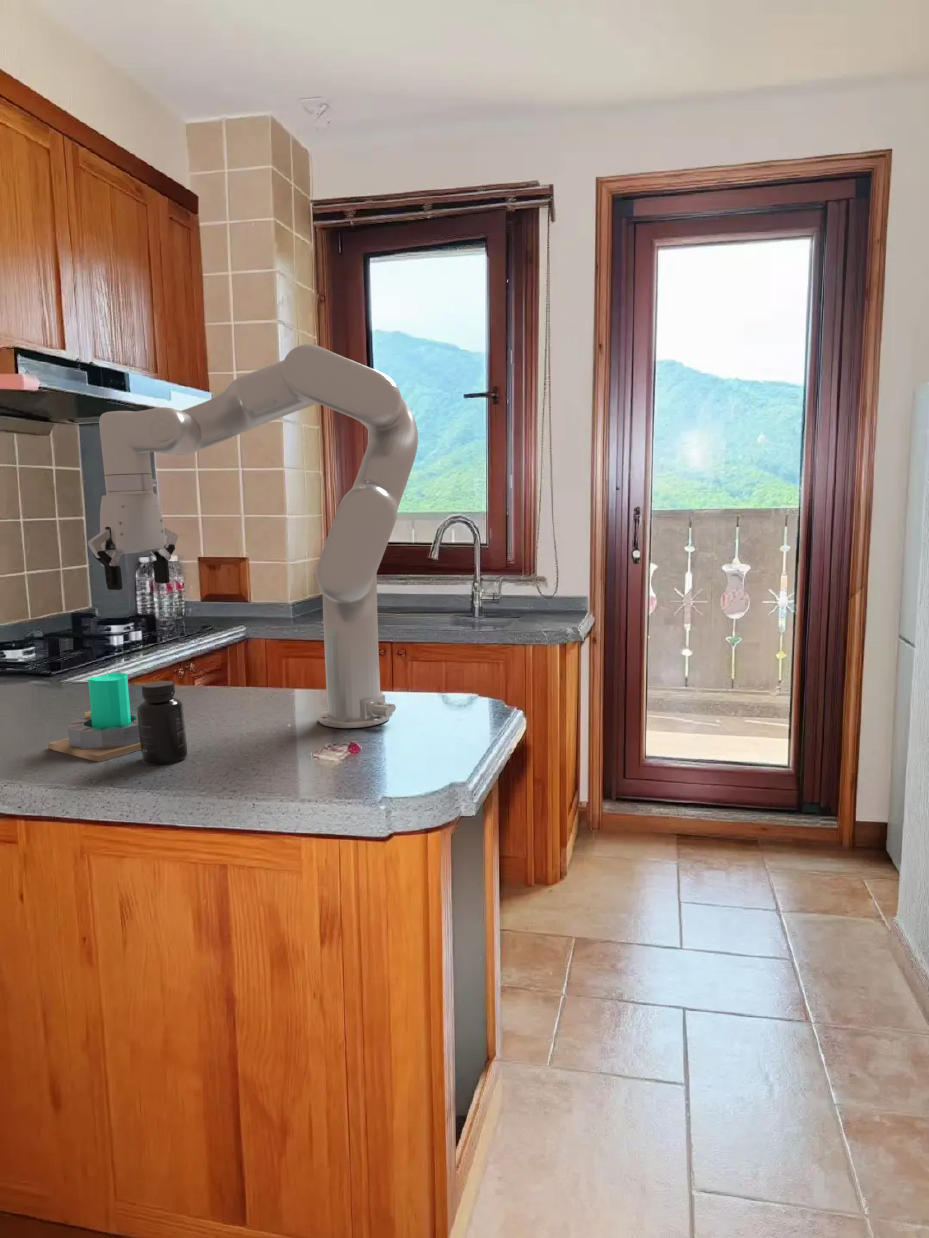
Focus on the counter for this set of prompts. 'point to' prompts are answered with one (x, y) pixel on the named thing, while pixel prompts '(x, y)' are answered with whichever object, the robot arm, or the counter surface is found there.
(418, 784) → the counter surface
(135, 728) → the steel collar
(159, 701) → the supplement bottle
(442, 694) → the counter surface
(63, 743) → the oak board
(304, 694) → the counter surface
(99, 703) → the candle
